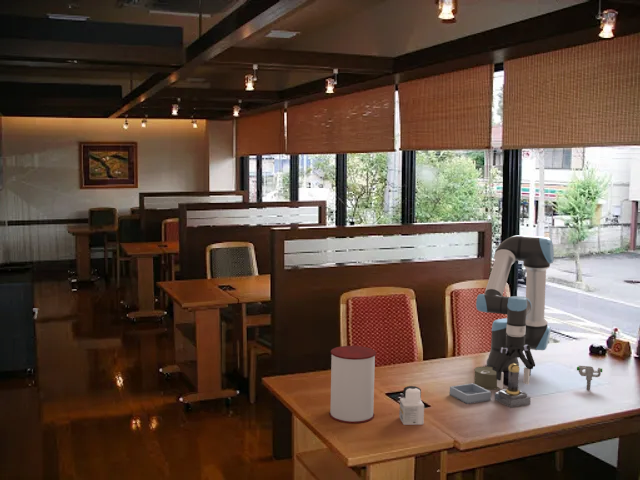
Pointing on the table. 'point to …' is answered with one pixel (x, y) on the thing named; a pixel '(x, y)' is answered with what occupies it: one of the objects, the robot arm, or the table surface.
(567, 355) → the table surface
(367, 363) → the container
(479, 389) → the tray
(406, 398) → the container
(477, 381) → the can
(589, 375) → the mechanical component
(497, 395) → the recessed square block
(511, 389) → the strut
